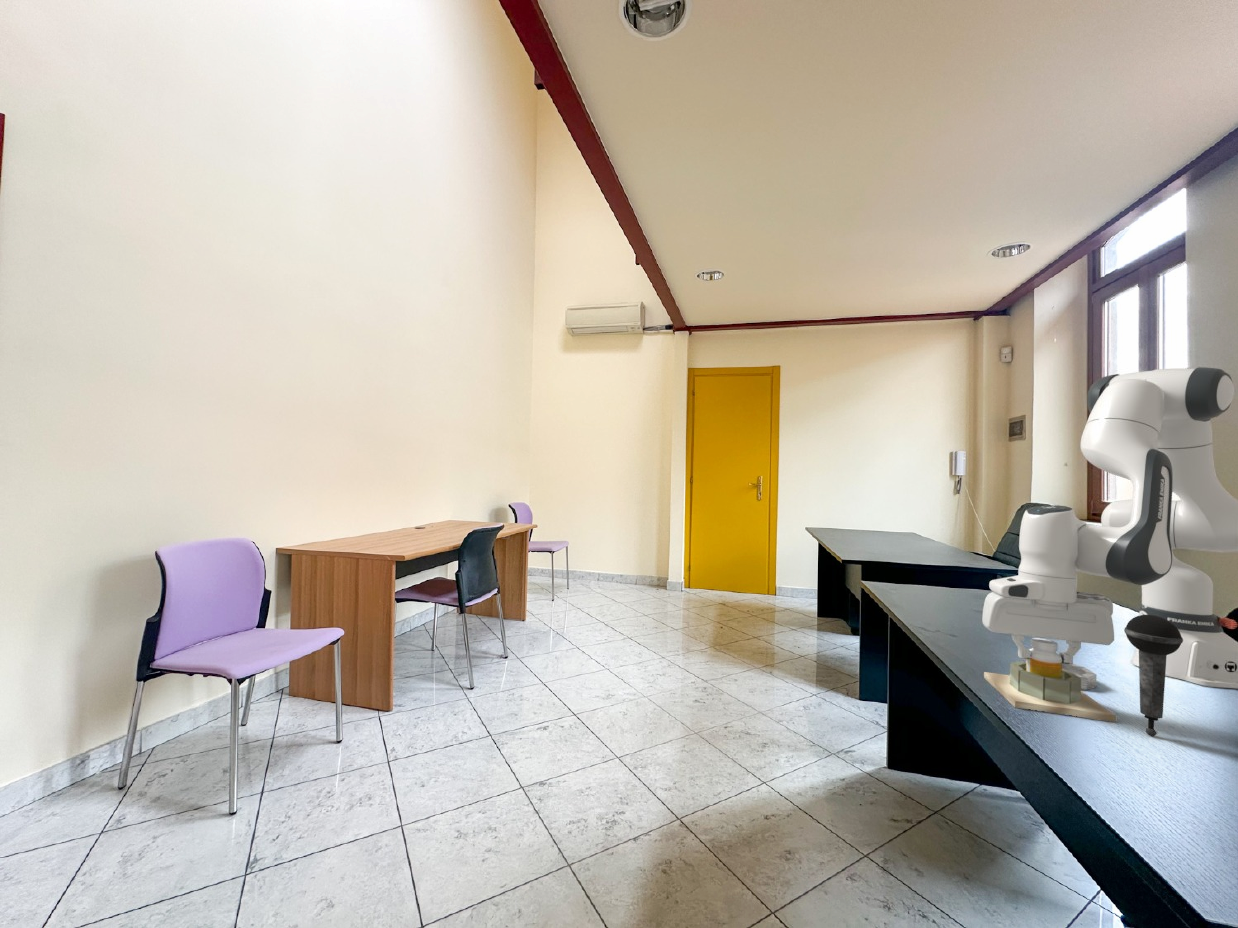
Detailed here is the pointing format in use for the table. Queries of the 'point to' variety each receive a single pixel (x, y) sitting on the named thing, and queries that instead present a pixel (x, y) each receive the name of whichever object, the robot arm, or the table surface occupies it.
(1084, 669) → the holder ring
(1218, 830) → the table surface
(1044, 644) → the supplement bottle
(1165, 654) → the microphone
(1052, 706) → the socket board
